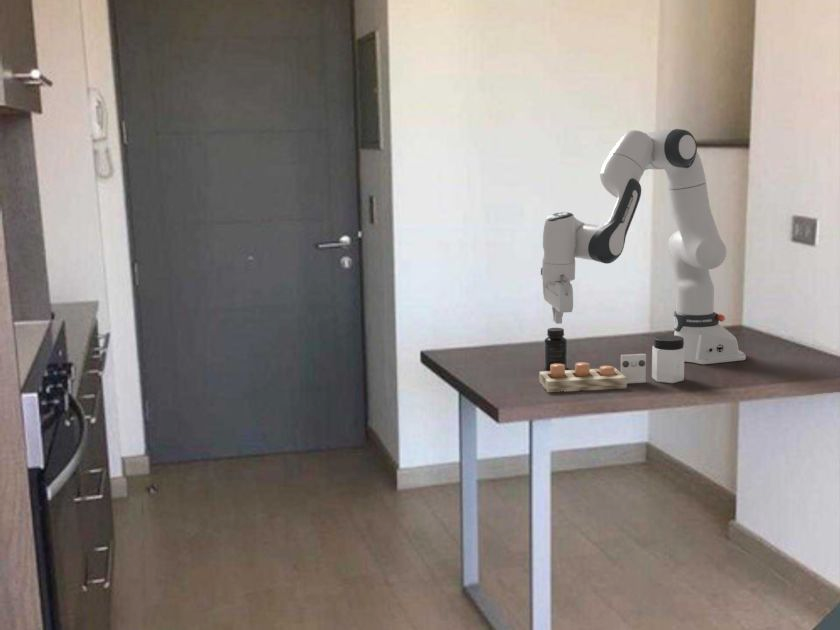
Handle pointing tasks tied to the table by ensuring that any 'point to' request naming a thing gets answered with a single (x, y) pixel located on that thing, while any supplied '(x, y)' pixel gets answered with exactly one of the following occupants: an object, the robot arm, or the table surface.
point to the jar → (668, 358)
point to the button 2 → (606, 370)
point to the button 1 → (557, 370)
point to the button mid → (582, 369)
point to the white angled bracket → (634, 367)
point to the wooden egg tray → (582, 381)
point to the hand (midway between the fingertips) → (557, 322)
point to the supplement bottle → (555, 348)
